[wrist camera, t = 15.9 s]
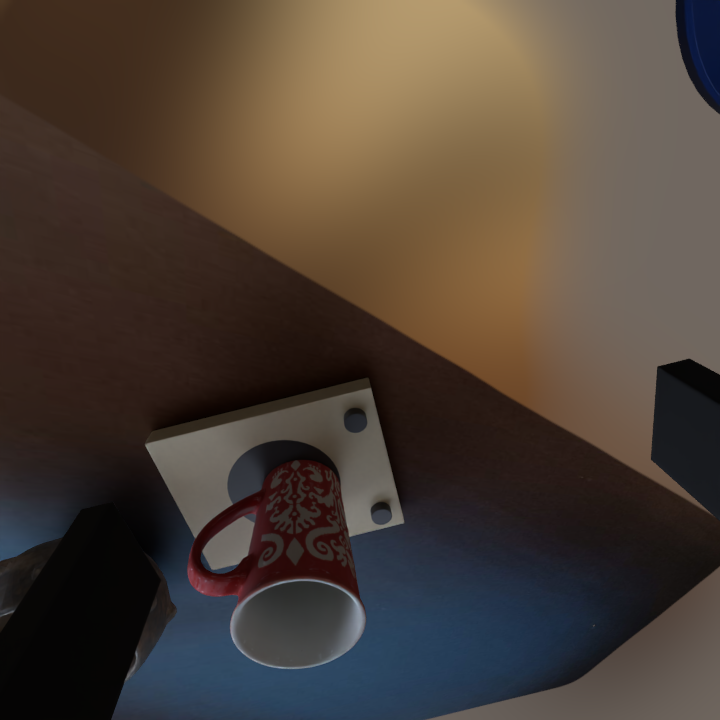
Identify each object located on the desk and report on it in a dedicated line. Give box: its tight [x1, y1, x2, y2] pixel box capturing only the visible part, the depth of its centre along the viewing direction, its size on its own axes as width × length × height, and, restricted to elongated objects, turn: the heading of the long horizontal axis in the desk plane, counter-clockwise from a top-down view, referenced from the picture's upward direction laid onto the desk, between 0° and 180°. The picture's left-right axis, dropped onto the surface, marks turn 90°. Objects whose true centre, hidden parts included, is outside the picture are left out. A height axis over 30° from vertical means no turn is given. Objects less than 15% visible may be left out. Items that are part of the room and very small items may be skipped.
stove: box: [145, 378, 404, 570], centre depth 42 cm, size 20×16×3 cm
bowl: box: [0, 538, 177, 683], centre depth 41 cm, size 14×15×10 cm
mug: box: [187, 460, 366, 669], centre depth 35 cm, size 13×9×14 cm
